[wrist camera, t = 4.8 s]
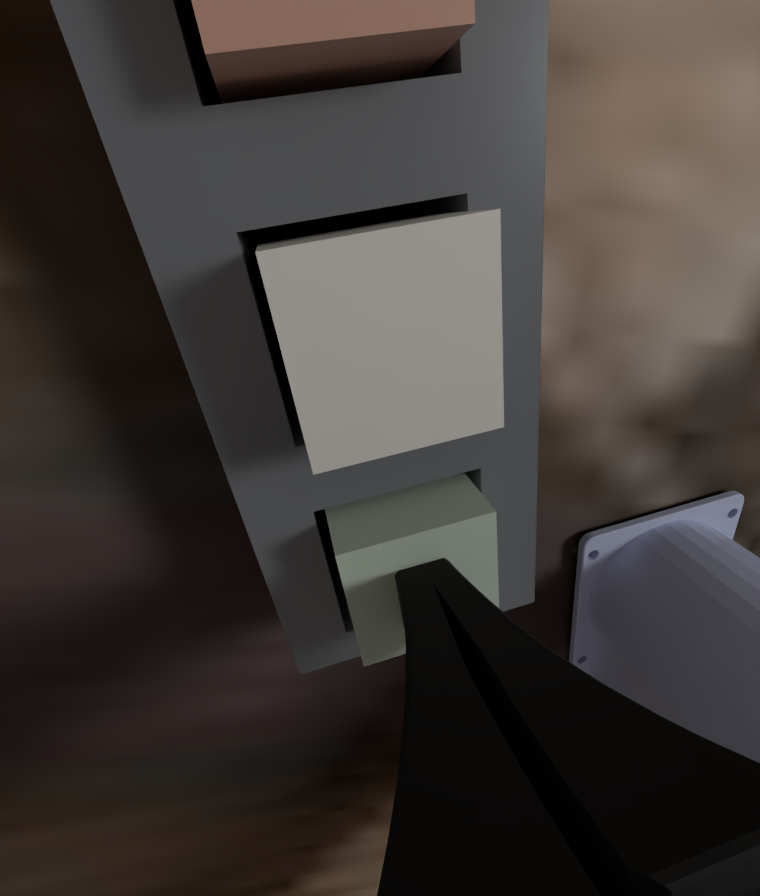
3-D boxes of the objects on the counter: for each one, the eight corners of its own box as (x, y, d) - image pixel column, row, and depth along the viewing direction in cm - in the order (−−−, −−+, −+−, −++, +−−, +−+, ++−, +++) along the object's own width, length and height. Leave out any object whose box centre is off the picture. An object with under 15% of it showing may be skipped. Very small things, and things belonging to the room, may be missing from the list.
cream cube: (443, 377, 12) (504, 427, 9) (300, 409, 12) (313, 474, 9) (430, 214, 10) (500, 208, 7) (258, 244, 10) (255, 252, 7)
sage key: (453, 546, 16) (499, 624, 13) (343, 578, 15) (363, 666, 12) (444, 448, 14) (496, 511, 11) (318, 480, 13) (335, 556, 10)
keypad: (488, 538, 18) (534, 601, 15) (293, 593, 17) (300, 674, 14) (454, -265, 8) (562, -542, 5) (7, -256, 7) (-172, -596, 4)
